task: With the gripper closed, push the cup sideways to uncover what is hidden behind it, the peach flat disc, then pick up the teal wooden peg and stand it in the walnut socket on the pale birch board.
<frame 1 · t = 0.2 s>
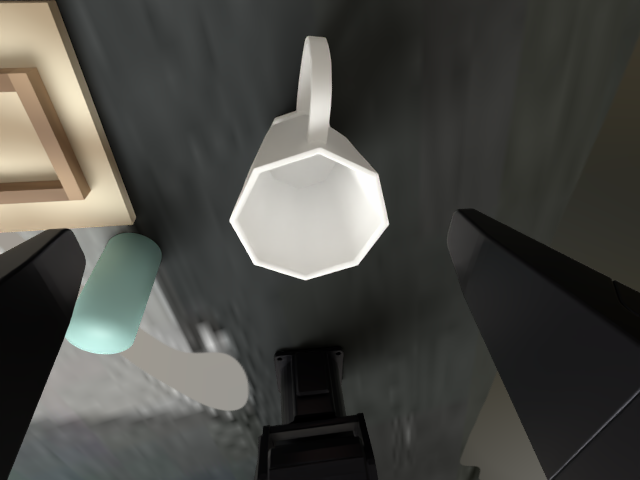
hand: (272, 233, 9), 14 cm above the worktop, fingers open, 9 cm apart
board: (6, 132, 20), on the worktop
cup: (301, 119, 22), on the worktop
peg: (134, 253, 26), on the worktop
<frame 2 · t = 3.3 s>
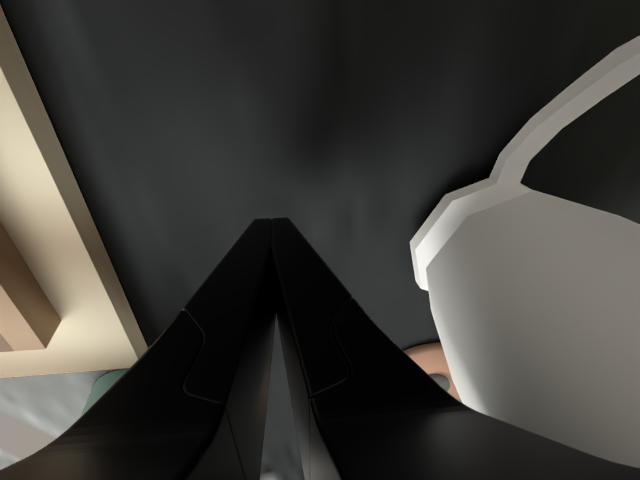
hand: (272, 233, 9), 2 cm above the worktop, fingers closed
cup: (488, 192, 11), on the worktop, touching gripper
peg: (141, 393, 15), on the worktop
peach flat disc: (425, 377, 17), on the worktop
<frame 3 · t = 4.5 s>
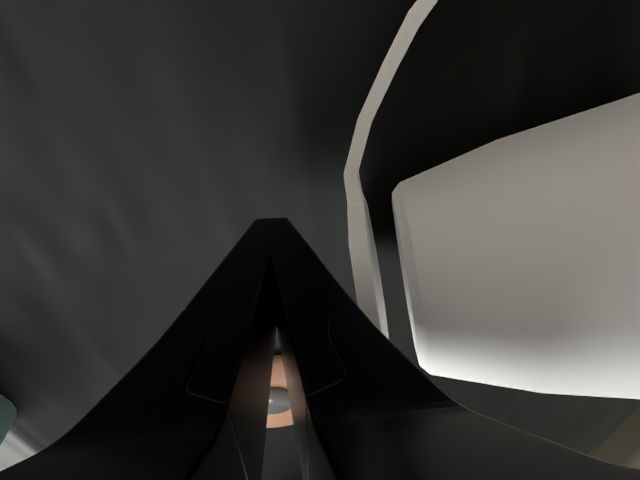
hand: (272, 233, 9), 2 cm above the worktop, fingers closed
cup: (344, 226, 9), point 2 cm above the worktop, touching gripper
peach flat disc: (272, 389, 16), on the worktop
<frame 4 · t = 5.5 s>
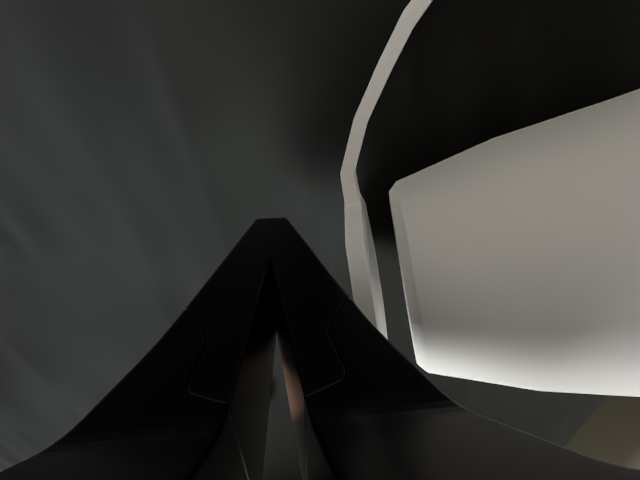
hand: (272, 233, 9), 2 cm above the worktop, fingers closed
cup: (341, 225, 9), point 2 cm above the worktop, touching gripper
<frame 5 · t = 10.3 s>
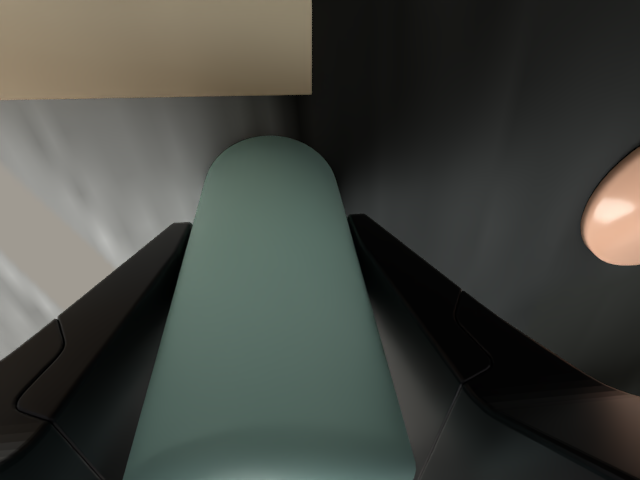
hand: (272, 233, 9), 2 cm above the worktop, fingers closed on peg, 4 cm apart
peg: (272, 198, 10), on the worktop, touching gripper
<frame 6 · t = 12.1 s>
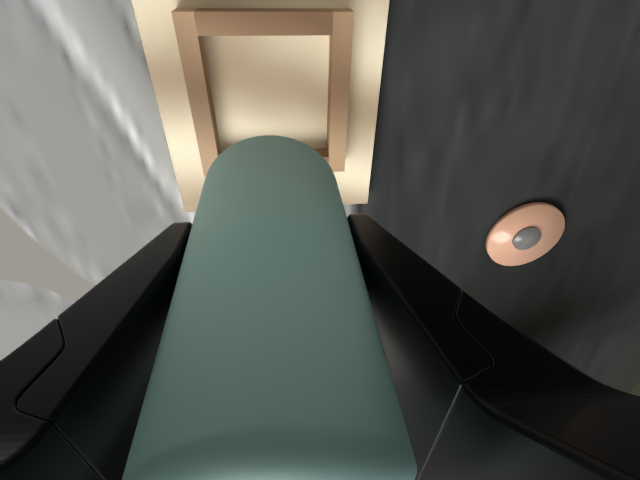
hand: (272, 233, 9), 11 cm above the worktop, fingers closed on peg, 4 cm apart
board: (270, 90, 18), on the worktop
peg: (272, 198, 10), point 9 cm above the worktop, touching gripper
peach flat disc: (522, 233, 25), on the worktop
when the fingers open (3 cm above the worktop, at t = 14.1 s): peg stays where it is, resting on board.
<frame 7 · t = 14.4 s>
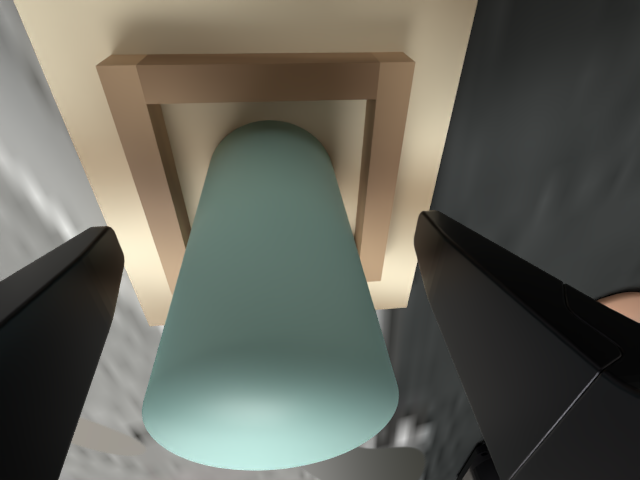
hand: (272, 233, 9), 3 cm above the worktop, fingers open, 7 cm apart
board: (271, 168, 12), on the worktop
peg: (272, 181, 11), point 1 cm above the worktop, touching board
peach flat disc: (603, 326, 19), on the worktop
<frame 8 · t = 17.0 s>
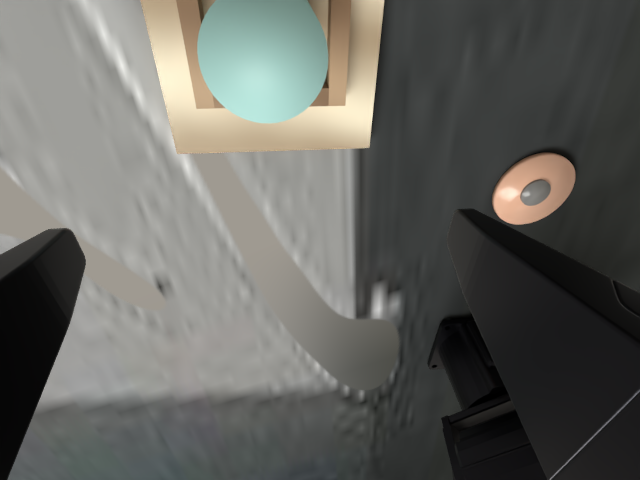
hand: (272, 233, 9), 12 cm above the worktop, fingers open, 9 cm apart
board: (267, 16, 17), on the worktop
peg: (267, 18, 16), point 1 cm above the worktop, touching board
peach flat disc: (531, 188, 24), on the worktop
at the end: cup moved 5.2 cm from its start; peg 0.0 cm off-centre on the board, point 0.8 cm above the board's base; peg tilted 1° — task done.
